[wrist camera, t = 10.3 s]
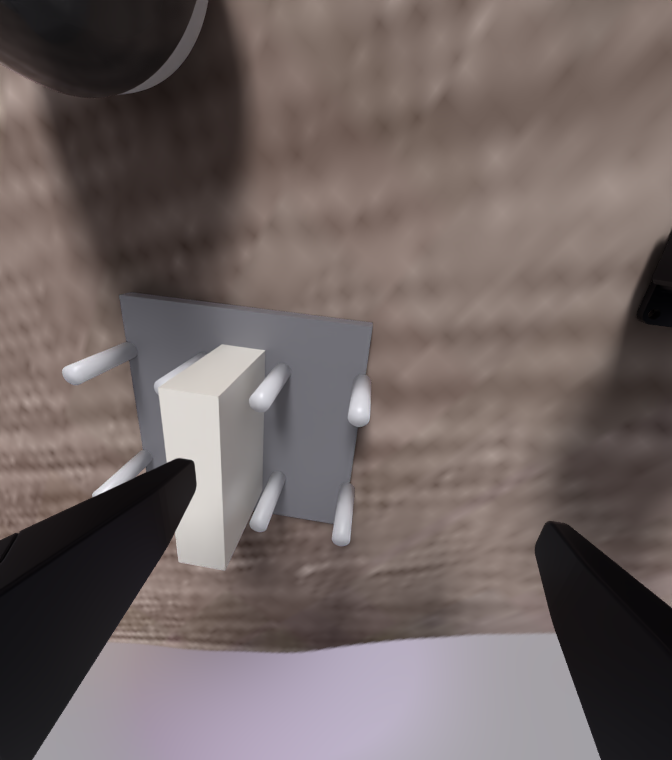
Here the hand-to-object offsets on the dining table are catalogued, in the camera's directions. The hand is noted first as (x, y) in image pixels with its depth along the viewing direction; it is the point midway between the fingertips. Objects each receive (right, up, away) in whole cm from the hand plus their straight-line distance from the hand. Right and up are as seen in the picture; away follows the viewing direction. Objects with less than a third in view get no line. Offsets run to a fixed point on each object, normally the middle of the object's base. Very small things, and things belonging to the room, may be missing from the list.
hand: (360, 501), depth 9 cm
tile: (-6, 0, +12) cm, 14 cm away
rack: (-6, +1, +13) cm, 15 cm away
